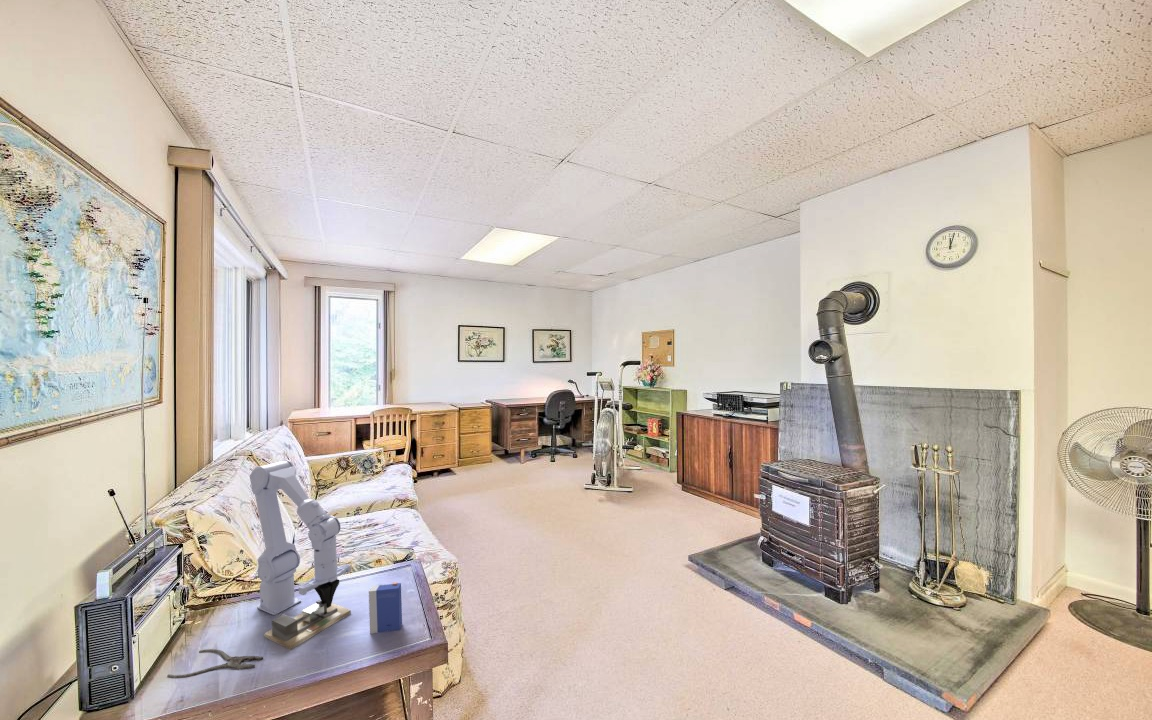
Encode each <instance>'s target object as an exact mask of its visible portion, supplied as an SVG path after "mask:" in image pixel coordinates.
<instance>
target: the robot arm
mask: <svg viewBox="0 0 1152 720" xmlns="http://www.w3.org/2000/svg"><path fill="white" fill-rule="evenodd" d="M296 475H297V468H296V466H294V463H293V462H292V461H291V460H289V459H282V460H280V461H277V462H272V463H268V464H264V465H261V466H260V465H259V466H255V467H254V468H253V470H252V471H251V473H250V474H249V480H250V486H251V490H252V495H254V497H255V502H256V507H257V513H258V517H259V521H260V527H261V533H262V535H263V536H262V538H263V542H264V547H265V549H264V550H263V551H262V553H261V554H260V555H259V557H258V558H257V577H258V578H259V580H260V581H261V582H260V585H259V603H260V604H258V605H257V606H256V608H257V609H259V610H261V611H263V612H266V613H268V614H269V615H272V616H275V615H277V614H279V613H281V612H283V611H285V610H287V609H289V608H291V607H294V606H296V605H298V604H299V603H300V602H302V599H300V598H297V597H295V573H296V572H297V568H299V566H300V565H301V564H300V563H301V557H300V556H301V555H300V553H299V552H298V550H297V547H296V545H295V544H294V543H291V542H289V541H287V538H286V533H285V527H284V524H283V519H282V518H283V517H282V513H281V510H280V509H281V508H280V505H279V498H278V494H277V493H278V491H279V490H282V491H283V493H284V494H285V495H286V496H287V497H288V498H289V499H290V500H291V501H292V502H293V503H294V504H295V505H296V506H297V509H296V514H297V515H298V517H299V518H300V519H301V521H302V523H304V525H305V526H306V527H307V529H308V530H309V531H308V533H307V535H308V539H309V540H310V542H311V547H312V549H313V560H314V561H313V563H314V577H312V578H311V579H309V580H307V582H305V583H303V584H301V585H300V586H298V594H299V595H302V596H304V595H306V594H307V593H308V592H310V591H312V590H315V592H316V593H317V594H318V596H319V598H320V601H323V602H325V603H327V608H329V607H330V606H331V604H332V603H333V599H334V596H335V593H336V590H337V588H338V586H339V584H340V579H338V577H339V576H340V577H341V576H342V575H345V574H347V573H350V572H352V565H351V564H349V563H346V564H342V565H341V566H338V560H337V557H338V555H337V535H339V534H340V531H341V522H340V521H339V519H338V517H336V516H333V515H331V514H329V513H327V512H326V511H325V510H324V508H323V507H322V506H321V504H320V503H319V502H318V500H317V499H315V498H310V497H309V496H308V494H307V493H306V491H305V489H304V488H303V487H302V485H301V483H300V482H299V480H298V478H297V476H296Z"/></svg>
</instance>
